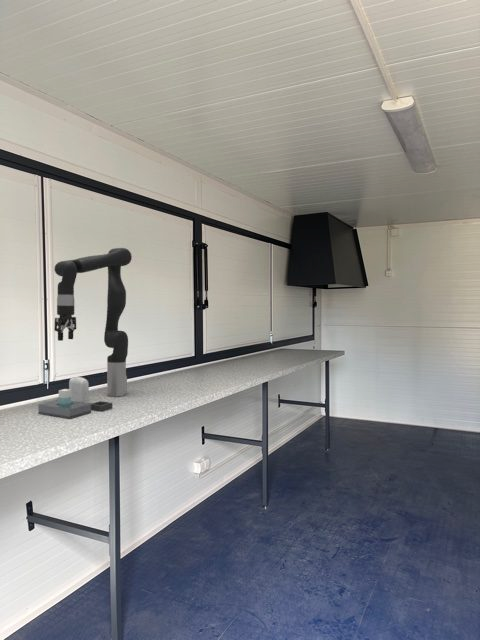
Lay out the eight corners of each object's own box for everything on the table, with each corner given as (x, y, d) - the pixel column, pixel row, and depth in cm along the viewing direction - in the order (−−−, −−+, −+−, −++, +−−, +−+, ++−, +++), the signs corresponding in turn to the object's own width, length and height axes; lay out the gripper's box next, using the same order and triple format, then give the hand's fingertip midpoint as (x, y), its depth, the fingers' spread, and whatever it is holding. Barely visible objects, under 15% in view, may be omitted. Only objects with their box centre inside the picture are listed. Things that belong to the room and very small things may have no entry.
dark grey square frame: (100, 406, 209) (100, 401, 208) (112, 408, 206) (112, 402, 205) (88, 409, 202) (88, 404, 202) (101, 411, 199) (101, 405, 199)
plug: (64, 409, 198) (64, 388, 197) (71, 410, 196) (71, 389, 196) (58, 411, 194) (58, 390, 194) (64, 412, 193) (64, 391, 193)
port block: (60, 407, 205) (60, 399, 205) (91, 412, 197) (91, 403, 197) (38, 413, 194) (38, 404, 194) (69, 418, 186) (69, 409, 186)
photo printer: (90, 403, 214) (90, 377, 213) (82, 405, 210) (82, 378, 210) (74, 401, 219) (74, 375, 219) (67, 402, 215) (67, 376, 215)
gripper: (64, 304, 202) (64, 341, 203) (81, 304, 216) (81, 338, 217) (49, 304, 203) (49, 340, 204) (66, 304, 217) (66, 338, 218)
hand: (65, 339), depth 210 cm, fingers open, 8 cm apart
